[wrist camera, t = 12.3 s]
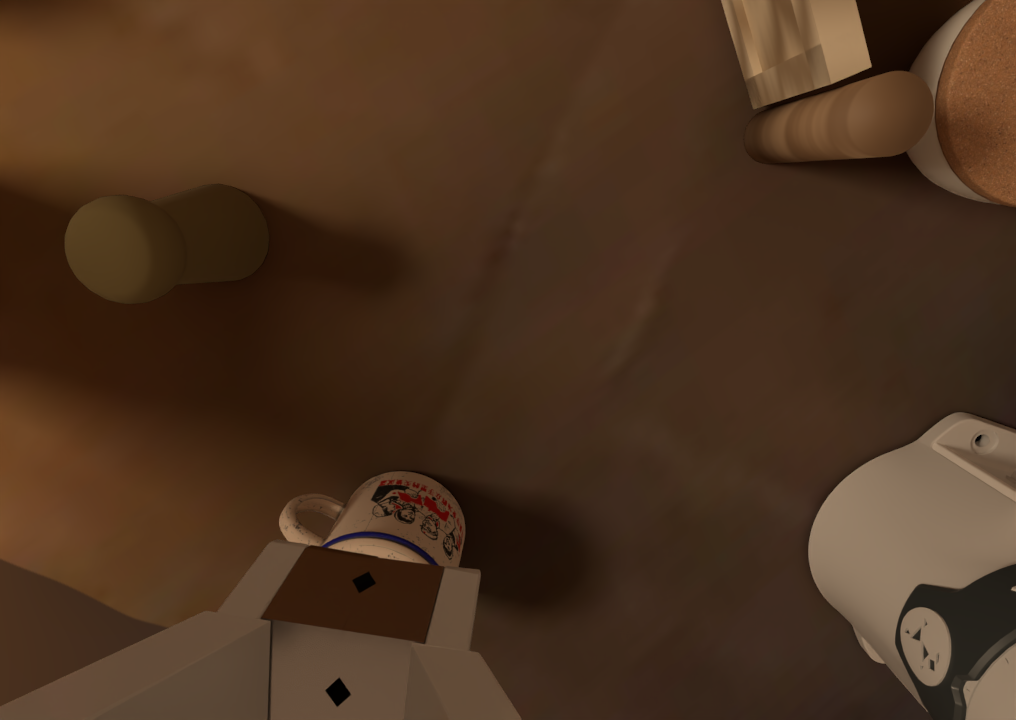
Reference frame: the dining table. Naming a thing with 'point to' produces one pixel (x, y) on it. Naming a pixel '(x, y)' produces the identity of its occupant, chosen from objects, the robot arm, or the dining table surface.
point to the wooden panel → (795, 45)
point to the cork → (165, 242)
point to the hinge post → (844, 122)
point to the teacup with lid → (387, 520)
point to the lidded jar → (971, 103)
